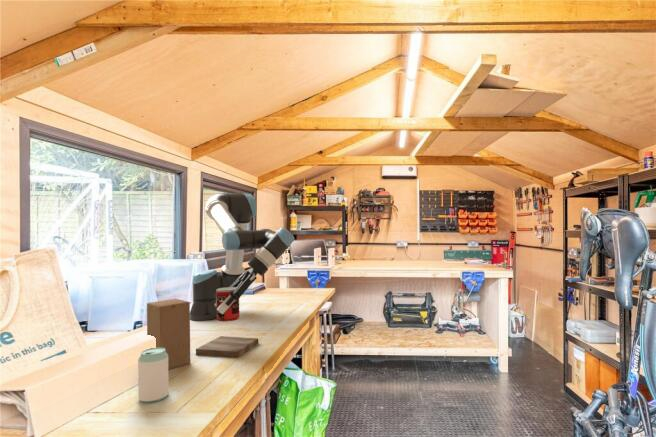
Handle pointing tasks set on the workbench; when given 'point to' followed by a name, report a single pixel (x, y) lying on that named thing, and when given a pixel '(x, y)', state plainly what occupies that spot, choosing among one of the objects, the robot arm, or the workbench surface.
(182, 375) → the workbench surface
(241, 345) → the walnut board
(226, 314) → the canned food
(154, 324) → the wooden block
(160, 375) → the can
